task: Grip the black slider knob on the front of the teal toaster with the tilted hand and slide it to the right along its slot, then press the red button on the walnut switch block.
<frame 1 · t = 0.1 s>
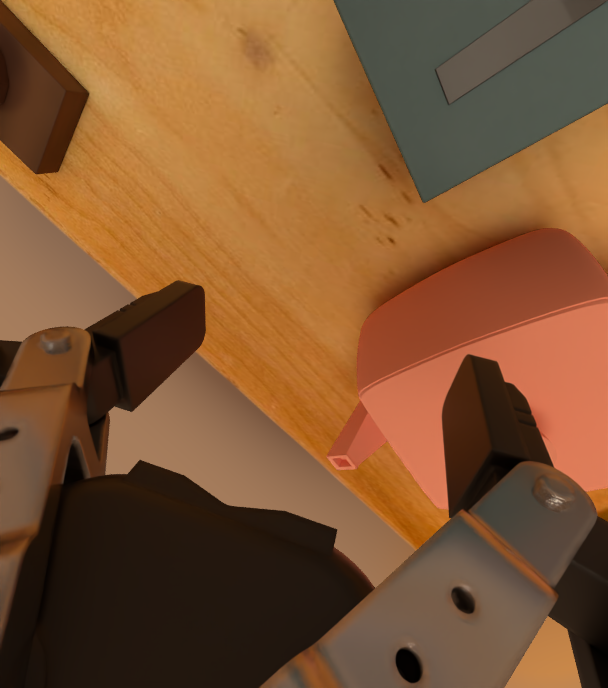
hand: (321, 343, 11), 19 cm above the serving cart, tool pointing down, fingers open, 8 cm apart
teapot: (469, 325, 28), on the serving cart
toaster: (528, 1, 19), on the serving cart
switch block: (22, 85, 28), on the serving cart
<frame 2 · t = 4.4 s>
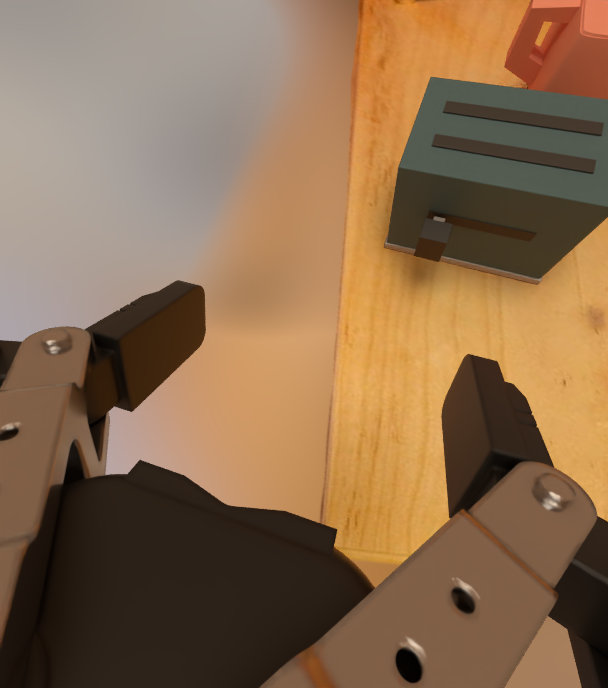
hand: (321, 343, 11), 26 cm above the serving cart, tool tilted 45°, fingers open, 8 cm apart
slider: (434, 235, 32), point 7 cm above the serving cart, slide at 0.0 cm
teapot: (583, 121, 41), on the serving cart
toaster: (468, 225, 40), on the serving cart
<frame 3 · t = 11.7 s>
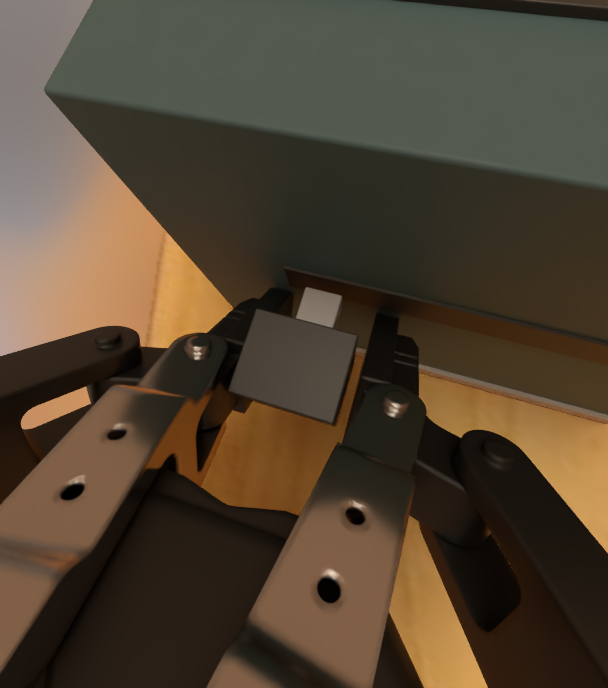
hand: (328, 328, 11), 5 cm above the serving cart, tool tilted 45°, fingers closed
slider: (307, 352, 9), point 7 cm above the serving cart, slide at 0.1 cm, touching gripper
toaster: (431, 266, 17), on the serving cart
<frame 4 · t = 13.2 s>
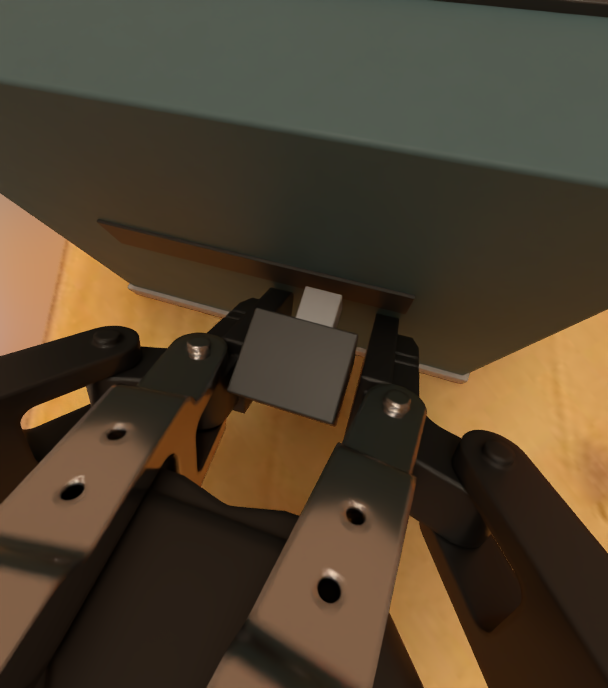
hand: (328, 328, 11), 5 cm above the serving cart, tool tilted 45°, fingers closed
slider: (307, 352, 9), point 7 cm above the serving cart, slide at 5.9 cm, touching gripper
toaster: (316, 239, 18), on the serving cart
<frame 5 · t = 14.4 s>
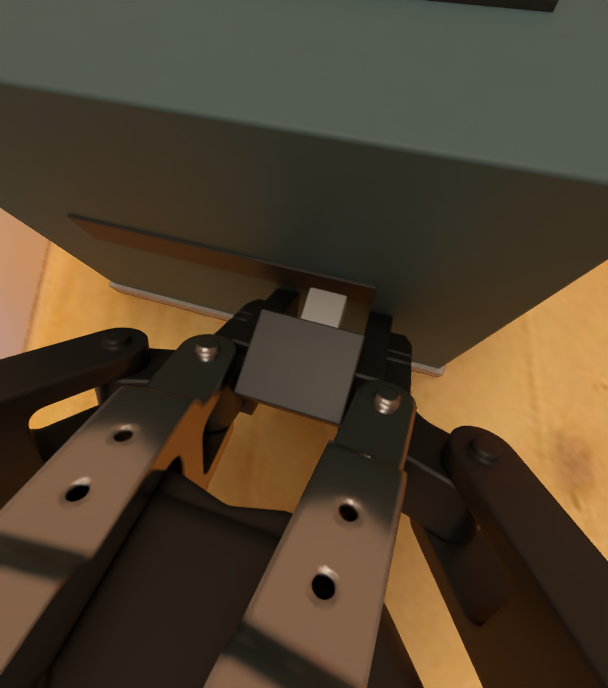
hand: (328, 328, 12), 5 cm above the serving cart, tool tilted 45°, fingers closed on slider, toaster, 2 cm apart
slider: (312, 353, 9), point 7 cm above the serving cart, slide at 7.0 cm, touching gripper
toaster: (296, 237, 18), on the serving cart
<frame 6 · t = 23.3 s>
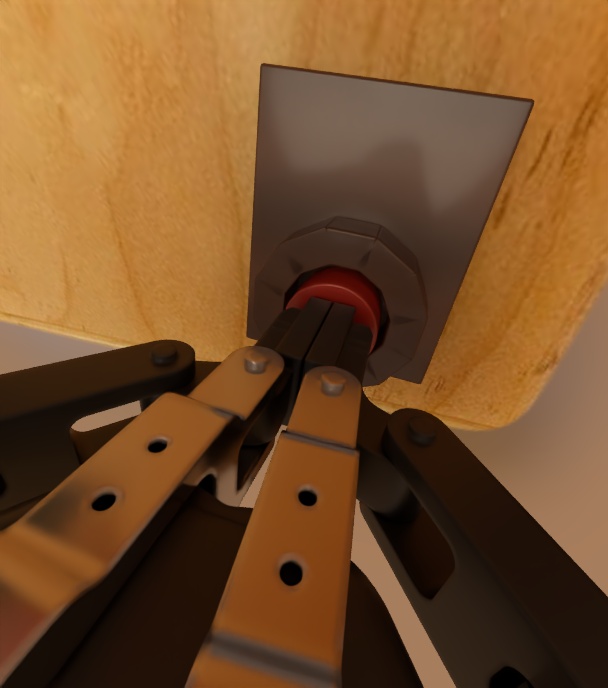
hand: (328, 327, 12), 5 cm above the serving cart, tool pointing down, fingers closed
power button: (333, 318, 12), point 4 cm above the serving cart, slide at -0.4 cm, touching gripper
switch block: (361, 235, 15), on the serving cart
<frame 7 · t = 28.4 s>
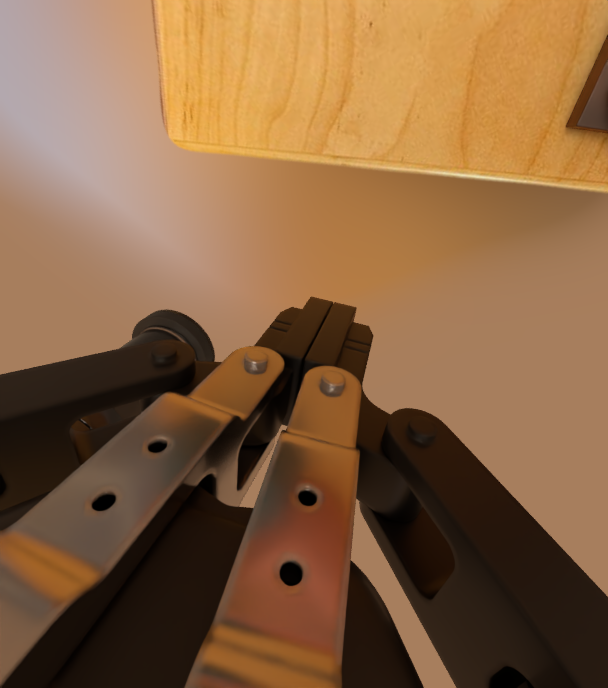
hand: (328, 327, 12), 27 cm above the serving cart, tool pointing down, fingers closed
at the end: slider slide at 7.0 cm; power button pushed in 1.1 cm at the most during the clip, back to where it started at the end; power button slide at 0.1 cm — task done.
